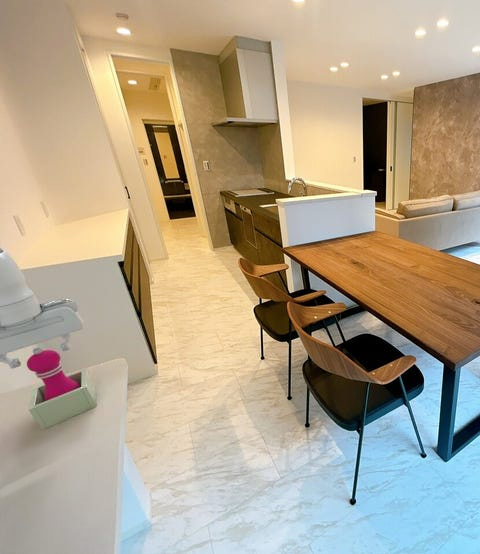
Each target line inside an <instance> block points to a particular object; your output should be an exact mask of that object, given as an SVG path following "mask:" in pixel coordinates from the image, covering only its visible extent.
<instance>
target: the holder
mask: <svg viewBox="0 0 480 554" xmlns="http://www.w3.org/2000/svg"><path fill="white" fill-rule="evenodd" d="M65 376H66V377H68V378H69V379H71V380H73V381H75V382H77V383H78V384H79V385H80V386H81V387H80V388H78V389H75V390H73V391H70V392H68V393H65V394H63V395H60V396H58V397H55V398H53V399H50V400H47V401H45V399H44V396H45V384H44V383H43V384H40V385H38V386H35V387H33V388H32V392H31V397H30V402H29V405H28V411H29V413H30V415H31V416H32V418H33V419H34V421H35V422H36V423H37V425H38V427H39V428H40V430H41V431H43V430H46V429H47V428H50V427H52V426H54V425H57V424H59V423H61V422H63V421H65V420H68V419H71V418H73V417H75V416H77V415H80V414H82V413H84V412H87V411H89V410H91V409H93V408H96V407H98V406H97V390H96V389H97V388H96V389H95V387H96V385H95V383H94V381H93V379H92V377H91V375H90V374H89V372H88V370H87V368H83V369H81V370H78V371H75V372H73V373H70V374H67V375H65Z"/></svg>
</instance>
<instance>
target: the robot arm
mask: <svg viewBox="0 0 480 554" xmlns="http://www.w3.org/2000/svg"><path fill="white" fill-rule="evenodd" d="M78 309H79V308H78V306H77V303H76V302H75V301H74V300H72V299H67V298H66V299H65V298H59V299H57V300H54V301H49V302H45V303H40V301H39V300H38V298H37V296H36V294H35V292H34V291H33V290H32V289H31V288H29V286H28V285H27V282H26V277H25V275H24V273H23V271H22V270H21V268H20V266H19V265H18V264H17V262H16V261H15V259H14V258H13V257H12V256H11V255H10V254H9V252H7V251H6V250H4V248H1V247H0V363H4V364H6V365H8V366H9V367H10V369H11V370H12V369H15V368H19V367H21V365H22V363H21V361H20V359H19V358H18V357H16V358H12V357H9V356H7V355H8V354H9V353H12V352H15V351H18V350H22V349H25V348H28V347H31V346H35V345H37V344H41V343H44V342H47V341H50V340H52V339H57V338H59V337H61V338H62V339H63V340H64V342H61V343H60V345H59V346H60V349H61V350H62V351H63V352H65V351H68V350H71V349H72V347H71V345H70V343H69V342H70V339H71V334H73V333H75V332H79V331H81V330H83V328H84V327H85V322H84V320H83V318H82V316H81V315H80V313H79V312H78Z"/></svg>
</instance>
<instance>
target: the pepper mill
mask: <svg viewBox="0 0 480 554" xmlns="http://www.w3.org/2000/svg"><path fill="white" fill-rule="evenodd" d="M32 353H33V354H31V355H30V356H29V358H28V359H27V361H26V367H27V369H28V370H29V371H31V372H33V373H34V375H35V376H36V378H37V379H40V380H42V382H43V384H45V396H44V399H45V401H47V400H50V399H53V398H55V397H58V396H60V395H63V394H65V393H68V392H70V391H73V390H75V389H78V388H80V387H81V386H80V385H79V384H78V383H77V382H75V381H73V380H71V379H69V378H68V377H66V376H67V375H66V374H65V373H64V371H63V369H64V365H62V364H63V363H61V355H60V353H59V352H58V351H55V350H52V349H45V350H44V349H43V348H42V347H40V346H38V347H35V348H33V350H32Z"/></svg>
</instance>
